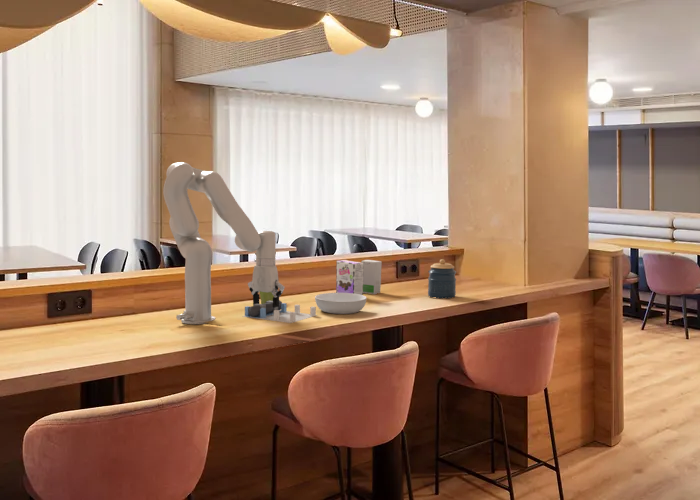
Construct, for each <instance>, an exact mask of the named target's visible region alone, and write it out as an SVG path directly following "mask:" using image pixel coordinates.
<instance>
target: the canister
mask: <svg viewBox="0 0 700 500" xmlns="http://www.w3.org/2000/svg"><path fill="white" fill-rule="evenodd" d="M456 273H457V271H456V270H455V266H454V265H453V264H452V263H448V262H446V260H445V259H444V258H442V259H439V262H436V263H433V264H431V265H430V269H429V270H428V274H429V276H428V277H427V279H428V281H427V282H428V287H427V295H428V297H429V296H430V297H429V298H432V297H436V298H435V299H443V298H446V299H453V298H452V297H454V298H455V297H456V294H457V292H456V290H457V289H456V286H457V284H456V283H457V282H456V281H457V277H456Z"/></svg>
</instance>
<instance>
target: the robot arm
mask: <svg viewBox="0 0 700 500" xmlns="http://www.w3.org/2000/svg"><path fill="white" fill-rule="evenodd" d="M165 176H166V177H165V181H164V185H163V190H162V192H163V199H164V202H165V205H166V207H167V211H168V213H169V216H170V217H169V221H168V222H169V228H170V232H171V234H172V236H173V239H174V241H175V244H176V245H177V248H178V251H179V252H180V255H181V256H182V257H183V258H184V259H185V265H184V292H185V295H184V296H185V297H184V298H185V299H184V300H185V301H184V303H185V304H184V306H185V310H183V312H182V313H181V314H177V315H176V320H178V321H180V320H181V321H180V322H181V323H182V324H186V325H187V324H188V325H207V324H208V323H209V322H212V321H215V320H216V316H213V315H212V281H211V280H212V276H211V275H212V271H211V270H212V257H213V251H212V246H211V245H210V243H209V242H208V241H207V240H206V239H204V238H202V237H201V234H200V232H199V228H200V221H199V219H198V217H197V215H196V212H195V210H194V207H193V205H192V203H191V200H190V197H189V193H188V190H192V191H195V192H199V193H203V194H204V195H205V197H206V198H207V199H208V201H209V202H210V204H211V206H212V207H213V209H214V211H215V212H216V214H217V216H218V217H219V218H220V219H221V220H222V221H224V222H225V223H226V224H227V225H228V226H229V227H230V228H231V229H232V230H233V232H234V233H235V237H234V243H235V245H236V247H237V248H239V249H240V250H241V251H242V250H243V251H246V252H250V253H251V252H255V257H256V258H255V259H254V262H255V265H254V267H253V271H252V278H251V279H252V280H251V281H249V282H247V286H248V289H249V291H250V292H251V295H252V305H253V304H260V292H271V293H272V294H273V296H274V297H273V307H274V308H275V307H279V300H280V297H281V296H282V294H283V293H284V290H285V287H286V286H285V285H283V284H282V283H281V282H280V280H279V271H278V267H277V265H276V233H275V231H272V230H259V231H258V230H257V228H256V227H255V225H254V224H253V222H252V221H251V219H250V218H249V216H248V215H247V214H246V213H245V211H244V210H243V208H242V207H241V206H240V204H239V203H238V202H237V200H236V198H235V197H234V195H233V194H232V192H231V191H230V189H229V187H228V185H227V184H226V182H225V180H224V178H223V177H222V176H221V174H220V173H219V172H217V171H213V170H203V169H200V168H195V167H192V166H191V164H190V163H188V162H183V161H180V162H174V163H172V164H170V165H169V166H168V167H167V169H166V175H165ZM259 291H260V292H259Z"/></svg>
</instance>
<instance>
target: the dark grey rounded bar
mask: <svg viewBox="0 0 700 500" xmlns="http://www.w3.org/2000/svg"><path fill="white" fill-rule="evenodd" d="M281 303H283V302H282V301H281V300H280V299H279V307H275V308H274V307H273V301H266V303H264V304H261V303H259V304H253V303H252V305H250V307H249V309H248V313H249V315H250V316H251V317H254V316H260V309H261V308H266V313H270V312H271V313H274V310H281Z"/></svg>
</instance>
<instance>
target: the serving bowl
mask: <svg viewBox="0 0 700 500" xmlns="http://www.w3.org/2000/svg"><path fill="white" fill-rule="evenodd" d="M314 300H315V305H316V307H317V308H318V309H319V310H321V311H322V312H324V313H328V314H334V315H347V314H348V315H349V314H355V313H359V312H360V311H362V309H364V307H365V305H366V303H367V296H366V295H360V294H354V293H336V292H324V293H320V294H317V295H315V296H314Z"/></svg>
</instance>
